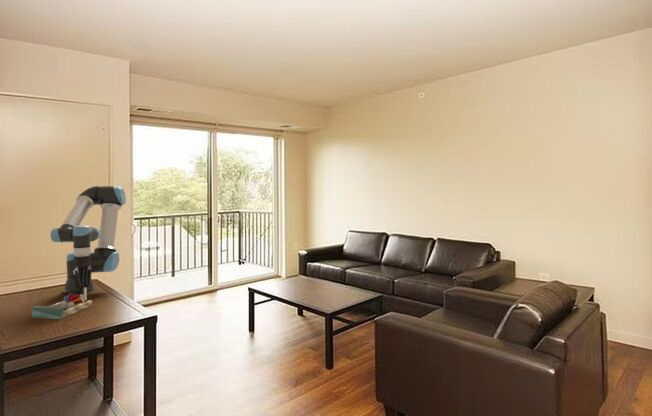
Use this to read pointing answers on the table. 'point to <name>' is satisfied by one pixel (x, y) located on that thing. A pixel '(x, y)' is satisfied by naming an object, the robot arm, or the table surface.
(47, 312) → the channel
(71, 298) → the rainbow disc toy
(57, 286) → the table surface
